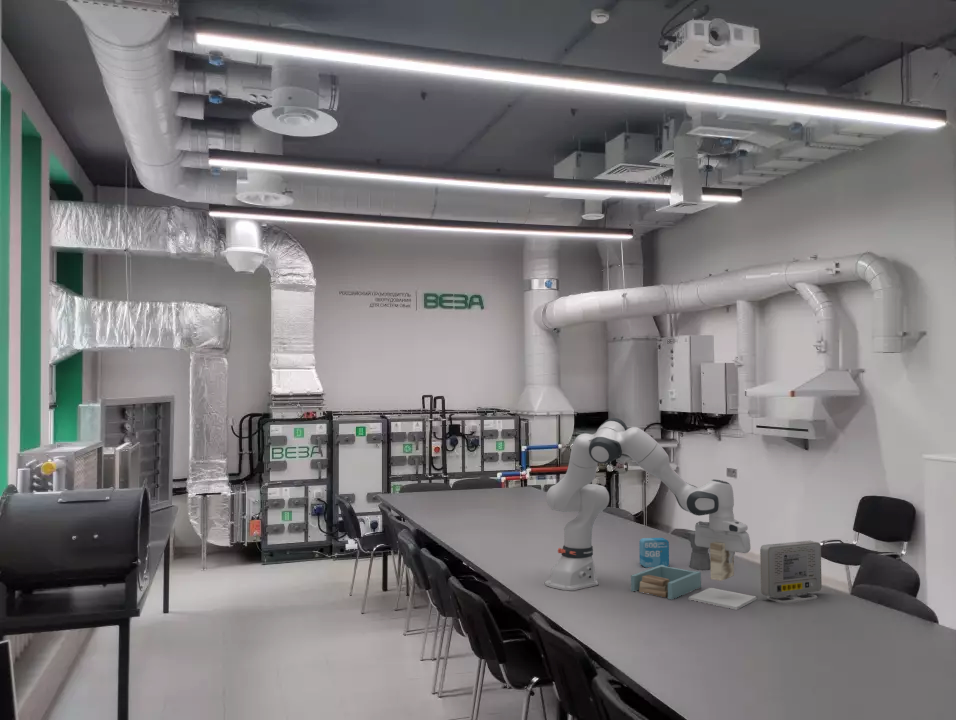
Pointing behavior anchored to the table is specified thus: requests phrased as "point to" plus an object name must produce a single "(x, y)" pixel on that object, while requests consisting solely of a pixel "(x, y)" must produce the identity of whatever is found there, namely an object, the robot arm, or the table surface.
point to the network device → (790, 570)
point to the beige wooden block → (720, 562)
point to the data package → (654, 552)
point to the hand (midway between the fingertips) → (722, 561)
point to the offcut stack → (654, 585)
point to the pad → (723, 598)
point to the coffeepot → (698, 554)
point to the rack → (671, 579)
